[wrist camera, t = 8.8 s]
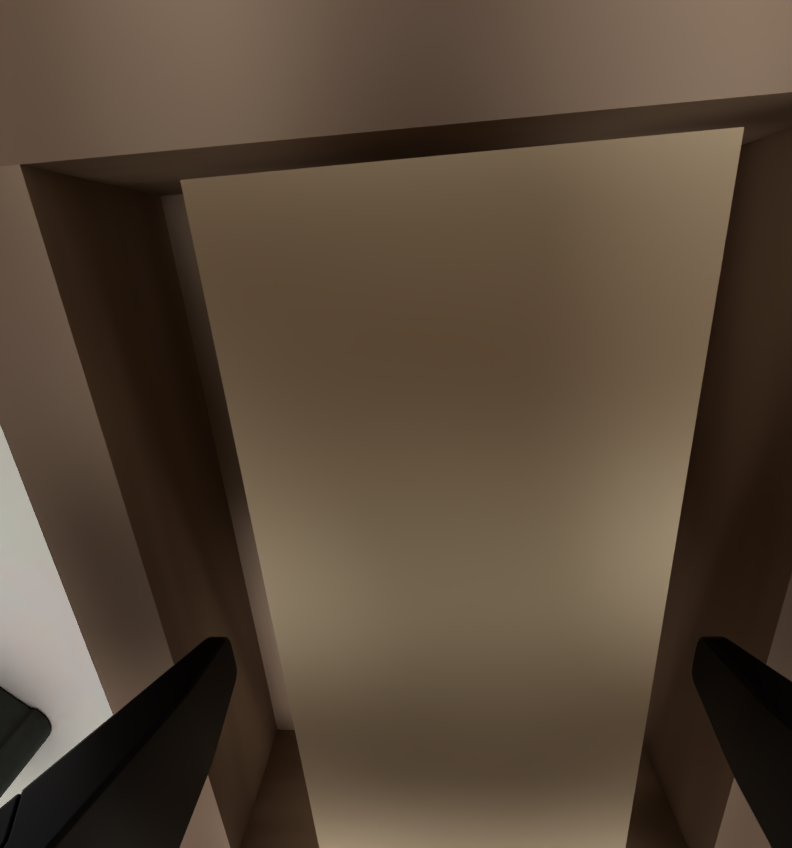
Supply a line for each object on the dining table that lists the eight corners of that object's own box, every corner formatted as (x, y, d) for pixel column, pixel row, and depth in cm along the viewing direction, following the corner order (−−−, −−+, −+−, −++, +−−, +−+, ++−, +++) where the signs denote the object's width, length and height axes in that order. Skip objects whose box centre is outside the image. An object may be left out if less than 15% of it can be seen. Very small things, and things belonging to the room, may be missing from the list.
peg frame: (824, 42, 10) (1183, -151, 5) (676, 747, 17) (768, 929, 13) (86, 117, 11) (-157, 20, 7) (245, 739, 19) (185, 899, 14)
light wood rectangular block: (547, 809, 13) (595, 1032, 9) (374, 804, 14) (354, 1015, 10) (588, 189, 8) (744, 127, 4) (295, 215, 8) (181, 180, 4)
